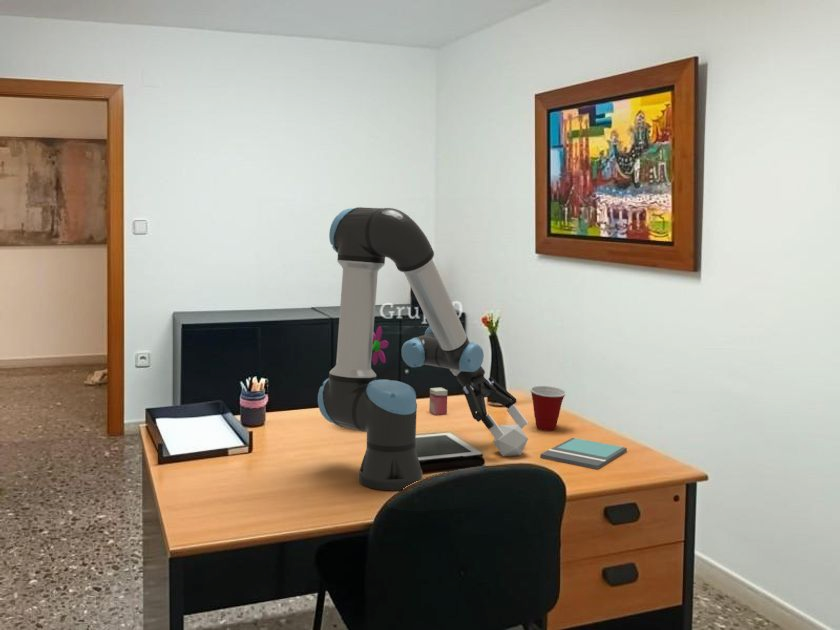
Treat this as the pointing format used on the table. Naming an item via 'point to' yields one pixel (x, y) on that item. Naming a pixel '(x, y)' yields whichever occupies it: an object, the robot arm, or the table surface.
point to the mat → (584, 453)
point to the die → (511, 440)
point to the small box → (438, 401)
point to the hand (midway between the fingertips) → (512, 431)
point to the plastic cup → (547, 406)
